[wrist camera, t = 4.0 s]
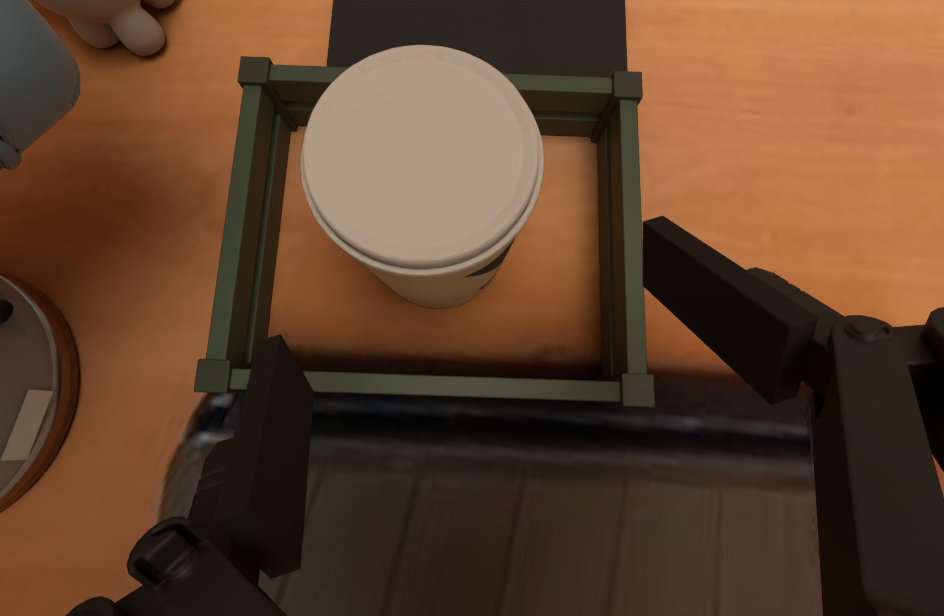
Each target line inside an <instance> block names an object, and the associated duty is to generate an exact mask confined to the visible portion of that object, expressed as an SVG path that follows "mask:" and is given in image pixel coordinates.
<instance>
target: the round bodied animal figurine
mask: <svg viewBox="0 0 944 616" xmlns="http://www.w3.org/2000/svg"><path fill="white" fill-rule="evenodd" d="M34 1H35V2H37V3H38V4H40V5H41V6H43V7H45V8H46V9H48V10H50V11H52V12H54V13H56V14H58V15H61V16H63V17H66V18H67V19H68V20H69V22H70V24H71V26H72V27H73V29H74V30H75V31H76V33H77V34H78V35H79V36H80V37H81V38H82V39H83V40H84V41H85V42H87V43H88V44H90V45H91V46H93V47H96V48H107V47H110V46H112V45H114V44H115V43H117V42H118V41H119V40H120V41H121V42H122V43H123V44H124V45H125V46H126V47H127V48H128V49H129V50H130V51H132V52H133V53H135V54H137V55H141V56H146V55H150V54H153V53H155V52H157V51H158V50H159V49H161V48H162V46H163V45H164V42H165V35H164V31H163V29H162V28H161V26H160V25H159V23H158V22H157V21H156V20H155V19H154V18H153V17H152V16H151V15H150V14H149V13H148V12H146V11H145V10H144V9H143V8H142V7H141V6H140V1H141V0H34ZM143 1H144V2H145V3H147V4H148V5H150V6H152V7H154V8H166V7H168V6H170V5H171V4H172V3H173V2H174V1H175V0H143Z"/></svg>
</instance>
